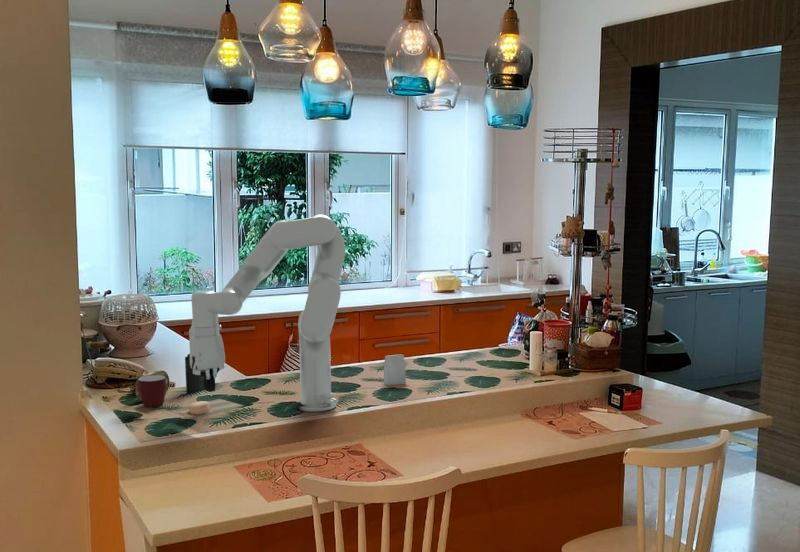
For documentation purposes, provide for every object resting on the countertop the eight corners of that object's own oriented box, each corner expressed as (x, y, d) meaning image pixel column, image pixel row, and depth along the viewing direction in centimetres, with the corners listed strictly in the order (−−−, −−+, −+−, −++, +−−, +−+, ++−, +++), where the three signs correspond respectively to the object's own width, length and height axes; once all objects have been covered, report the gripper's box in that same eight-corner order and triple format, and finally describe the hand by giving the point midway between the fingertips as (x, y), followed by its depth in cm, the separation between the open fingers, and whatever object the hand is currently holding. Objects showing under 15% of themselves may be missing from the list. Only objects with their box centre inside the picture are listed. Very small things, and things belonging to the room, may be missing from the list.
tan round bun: (214, 412, 238) (213, 403, 237) (198, 419, 233) (196, 410, 233) (202, 409, 241) (200, 399, 241) (186, 415, 237) (184, 406, 236)
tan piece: (244, 410, 242) (244, 405, 242) (194, 423, 229) (194, 418, 229) (219, 403, 251) (219, 398, 251) (169, 415, 238) (169, 410, 237)
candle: (185, 395, 261) (182, 321, 259) (194, 391, 266) (191, 318, 263) (198, 396, 260) (195, 321, 257) (206, 392, 264) (204, 319, 262)
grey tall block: (405, 383, 274) (405, 355, 273) (387, 385, 272) (387, 357, 271) (401, 381, 278) (401, 353, 276) (383, 382, 275) (383, 355, 274)
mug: (138, 405, 249) (136, 375, 248) (164, 403, 252) (163, 372, 251) (141, 414, 239) (139, 382, 238) (168, 411, 242) (167, 379, 241)
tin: (141, 404, 251) (140, 378, 250) (133, 403, 252) (132, 377, 251) (170, 392, 265) (169, 368, 264) (163, 391, 266) (161, 367, 265)
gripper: (219, 326, 246) (223, 383, 248) (177, 334, 235) (181, 394, 237) (234, 328, 241) (237, 387, 243) (192, 336, 230) (196, 398, 232)
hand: (210, 390), depth 240 cm, fingers closed
